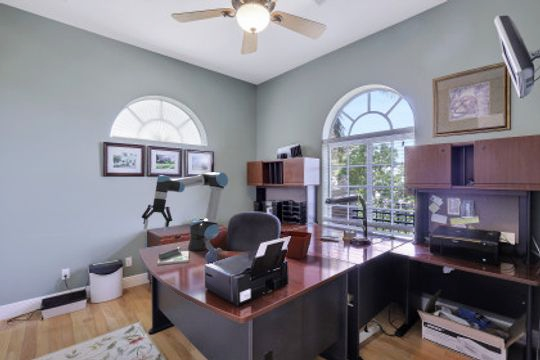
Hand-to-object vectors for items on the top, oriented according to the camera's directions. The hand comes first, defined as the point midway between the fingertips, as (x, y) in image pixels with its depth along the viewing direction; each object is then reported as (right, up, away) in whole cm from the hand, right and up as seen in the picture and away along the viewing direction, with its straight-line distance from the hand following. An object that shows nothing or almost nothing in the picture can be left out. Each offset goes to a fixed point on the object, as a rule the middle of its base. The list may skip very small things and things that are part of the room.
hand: (154, 230), depth 167 cm
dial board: (+6, -24, +18) cm, 30 cm away
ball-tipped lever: (+4, -22, +17) cm, 28 cm away
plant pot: (+96, -25, +26) cm, 102 cm away
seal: (+37, -25, +8) cm, 45 cm away
